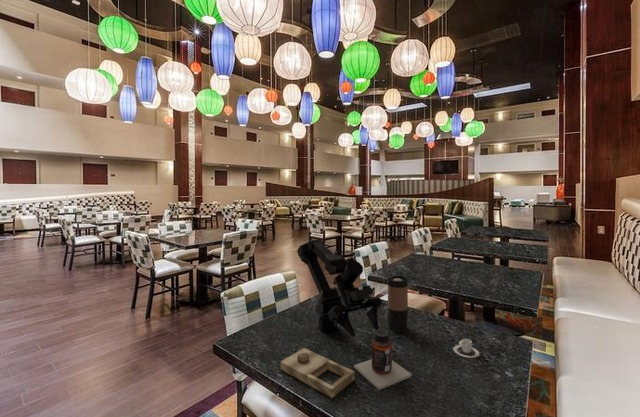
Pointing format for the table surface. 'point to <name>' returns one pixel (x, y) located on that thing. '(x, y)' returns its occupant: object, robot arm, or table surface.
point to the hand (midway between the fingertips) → (366, 333)
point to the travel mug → (397, 303)
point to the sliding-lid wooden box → (316, 371)
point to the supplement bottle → (381, 352)
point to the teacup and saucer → (466, 348)
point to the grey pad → (382, 379)
